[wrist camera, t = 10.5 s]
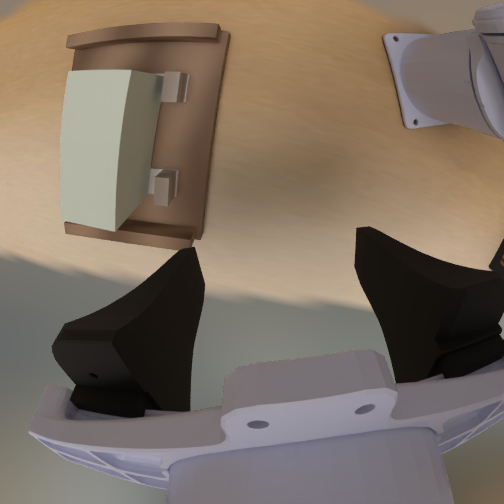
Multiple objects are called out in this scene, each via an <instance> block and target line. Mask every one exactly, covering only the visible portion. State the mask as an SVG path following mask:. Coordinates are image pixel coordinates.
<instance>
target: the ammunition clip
mask: <svg viewBox="0 0 504 504" xmlns="http://www.w3.org/2000/svg"><path fill="white" fill-rule="evenodd" d="M489 268H490V269H491V270H492V271H495V272H499V273H500V274H501V275H502V276H503V277H504V239H503V241H502V243H501V245H500V247H499V249H498V251H497V252H496V254H495V256H494V258H493V260H492V261H491V263H490V265H489Z"/></svg>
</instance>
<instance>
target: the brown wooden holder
mask: <svg viewBox="0 0 504 504" xmlns="http://www.w3.org/2000/svg"><path fill="white" fill-rule="evenodd" d="M229 40H230V33H229V32H228V31H221V28H220V26H219V24H214V23H151V24H137V25H127V26H119V27H111V28H104V29H98V30H93V31H87V32H82V33H77V34H73V35H69V36H68V38H67V43H66V48H70V49H75V53H74V59H73V66H72V71H80V70H135V71H140V72H146V73H151V74H156V75H160V76H164V82H163V89H162V97H161V104H160V109H159V115H158V121H157V127H156V133H155V139H154V146H153V153H152V161H151V169H150V178H149V187H148V196H147V197H146V198H145V199H144V200H143V201H142V203H141V204H140V205H139V206H138V207H137V208H136V209H135V210H134V211H133V212H132V213H131V215H130V216H129V217H128V218H127V219H126V220H125V221H124V222H123V223H122V225H121V226H120V227H119V228H118V229H117V230H116V232H114V231H109V230H104V229H100V228H95V227H90V226H86V225H81V224H76V223H72V222H67V221H66V222H65V223H64V226H65V232H66V234H71V235H77V236H84V237H91V238H97V239H104V240H111V241H117V242H124V243H131V244H138V245H145V246H151V247H158V248H165V249H172V250H181V249H183V248H190V247H192V244H193V242H194V239H197V240H201V237H202V234H203V226H204V215H205V205H206V196H207V187H208V178H209V169H210V161H211V153H212V145H213V138H214V131H215V123H216V117H217V110H218V103H219V97H220V91H221V85H222V79H223V73H224V67H225V61H226V56H227V50H228V45H229Z"/></svg>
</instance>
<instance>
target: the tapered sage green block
mask: <svg viewBox="0 0 504 504" xmlns="http://www.w3.org/2000/svg"><path fill="white" fill-rule="evenodd" d="M163 82H164V76H160V75H156V74H151V73H146V72H140V71H135V70H80V71H68V77H67V83H66V89H65V96H64V104H63V113H62V124H61V139H60V205H61V220H63V221H67V222H72V223H76V224H81V225H86V226H90V227H95V228H100V229H104V230H109V231H114V232H116V230H117V229H118V228H119V227H120V226H121V225H122V223H123V222H124V221H125V220H126V219H127V218H128V217H129V216H130V215H131V213H132V212H133V211H134V210H135V209H136V208H137V207H138V206H139V205H140V204H141V203H142V201H143V200H144V199H145V198H146V197H147V196H148V187H149V178H150V169H151V161H152V153H153V146H154V139H155V133H156V127H157V121H158V115H159V109H160V104H161V97H162V89H163Z"/></svg>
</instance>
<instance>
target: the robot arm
mask: <svg viewBox="0 0 504 504" xmlns="http://www.w3.org/2000/svg"><path fill="white" fill-rule="evenodd" d="M472 23H473V25H474V26H475V28H476V29H471V30H464V31H457V32H450V33H445V34H439V35H433V34H414V33H388V34H385V35H384V36H383V41H384V44H385V47H386V50H387V54H388V57H389V61H390V64H391V68H392V72H393V75H394V79H395V83H396V88H397V92H398V97H399V101H400V106H401V111H402V116H403V122H404V125H405V127H406V128H408V129H415V128H422V127H429V126H436V125H444V124H454V125H458V126H462V127H465V128H468V129H472V130H475V131H478V132H481V133H484V134H487V135H490V136H493V137H496V138H499V139H501V140H503V141H504V3H499V4H494V5H491V6H487V7H483V8H480V9H478V10H476V13H475V18H474V19H473V21H472ZM393 37H395V38H396V40H397V41H396V42H395V41H394V40H393ZM414 120H416V124H415V125H414V124H413V121H414ZM354 267H355V270H356V273H357V276H358V279H359V281H360V284H361V286H362V288H363V290H364V292H365V294H366V296H367V298H368V300H369V302H370V304H371V306H372V308H373V310H374V312H375V314H376V316H377V318H378V321H379V323H380V326H381V328H382V331H383V334H384V337H385V341H386V344H387V347H388V351H389V355H390V358H391V362H392V367H393V371H394V376H395V381H396V383H394V381H393V378H392V375H391V372H390V370H389V368H388V365H387V362H386V359H385V357H384V356H383V355H381V354H379V353H377V352H376V351H374V350H349V351H343V352H337V353H331V354H325V355H319V356H311V357H304V358H296V359H288V360H279V361H269V362H259V363H254V364H250V365H246V366H241V367H238V368H237V369H235V370H234V371H233V372H231V373H230V374H229V375H227V376H226V377H225V378H224V386H223V399H222V405H221V406H216V407H211V408H206V409H200V410H194V411H190V392H191V370H192V358H193V348H194V342H195V338H196V333H197V329H198V325H199V320H200V316H201V311H202V307H203V302H204V292H205V282H204V279H203V275H202V271H201V268H200V264H199V261H198V257H197V253H196V249H195V247H190V248H183V249H181V250H179V251H178V252H177V253H176V254H175V255H173V256H172V257H171V258H170V259H169V260H168V261H167V262H166V263H165V264H164V265H162V266H161V267H160V268H159V269H158V270H157V271H156V272H155V273H153V274H152V275H151V276H150V277H149V278H147V279H146V280H145V281H144V282H143V283H141V284H140V285H139V286H138V287H136V288H135V289H133V290H132V291H131V292H129V293H128V294H126V295H125V296H123V297H122V298H120V299H118V300H116V301H115V302H113V303H111V304H110V305H108V306H106V307H104V308H102V309H100V310H98V311H96V312H94V313H91V314H89V315H87V316H85V317H82V318H79V319H76V320H74V321H71V322H68V323H65V324H64V326H63V328H62V329H61V331H60V333H59V334H58V336H57V338H56V340H55V341H54V343H53V345H52V352H53V355H54V357H55V360H56V361H57V362H58V364H59V365H60V366H61V368H62V369H63V370H64V371H65V373H66V374H67V375H68V376H69V377H70V378H71V380H72V381H73V382H74V383H75V384H76V386H75V388H74V391H72V390H71V389H69V388H67V387H63V386H58V385H53V384H48V385H47V387H46V389H45V391H44V393H43V395H42V397H41V400H40V402H39V405H38V407H37V409H36V411H35V414H34V416H33V419H32V421H31V423H30V426H29V429H28V432H29V434H31V435H32V436H33V437H35V438H36V439H37V440H39V441H40V442H41V443H43V444H44V445H45V446H47V447H48V448H50V449H51V450H52V451H54V452H55V453H57V454H58V455H60V456H62V457H63V458H64V459H66V460H68V461H71V462H74V463H77V464H79V465H82V466H85V467H88V468H90V469H93V470H97V471H99V472H103V473H105V474H108V475H111V476H115V477H118V478H121V479H125V480H128V481H132V482H135V483H139V484H143V485H148V486H152V487H156V488H160V489H165V490H167V495H166V503H165V504H454V500H453V496H452V492H451V488H450V484H449V480H448V476H447V473H446V470H445V466H444V462H443V459H442V456H441V454H443V453H445V452H447V451H449V450H451V449H453V448H455V447H456V446H458V445H460V444H462V443H464V442H466V441H467V440H469V439H471V438H472V437H474V436H476V435H478V434H479V433H481V432H482V431H484V430H486V429H487V428H489V427H490V426H492V425H493V424H495V423H497V422H498V421H500V420H501V419H503V418H504V340H503V339H502V337H501V336H500V335H499V334H501V332H502V328H501V327H500V325H499V324H498V323H499V321H500V319H501V317H502V315H503V313H504V277H503V276H502V275H501V274H500V273H499V272H495V271H486V270H478V269H473V268H468V267H463V266H459V265H455V264H452V263H449V262H445V261H442V260H439V259H436V258H434V257H431V256H429V255H426V254H424V253H421V252H419V251H417V250H415V249H413V248H411V247H409V246H407V245H405V244H403V243H401V242H399V241H397V240H395V239H393V238H392V237H390V236H388V235H386V234H384V233H382V232H380V231H378V230H376V229H374V228H372V227H369V226H368V227H359V228H356V249H355V265H354Z"/></svg>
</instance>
